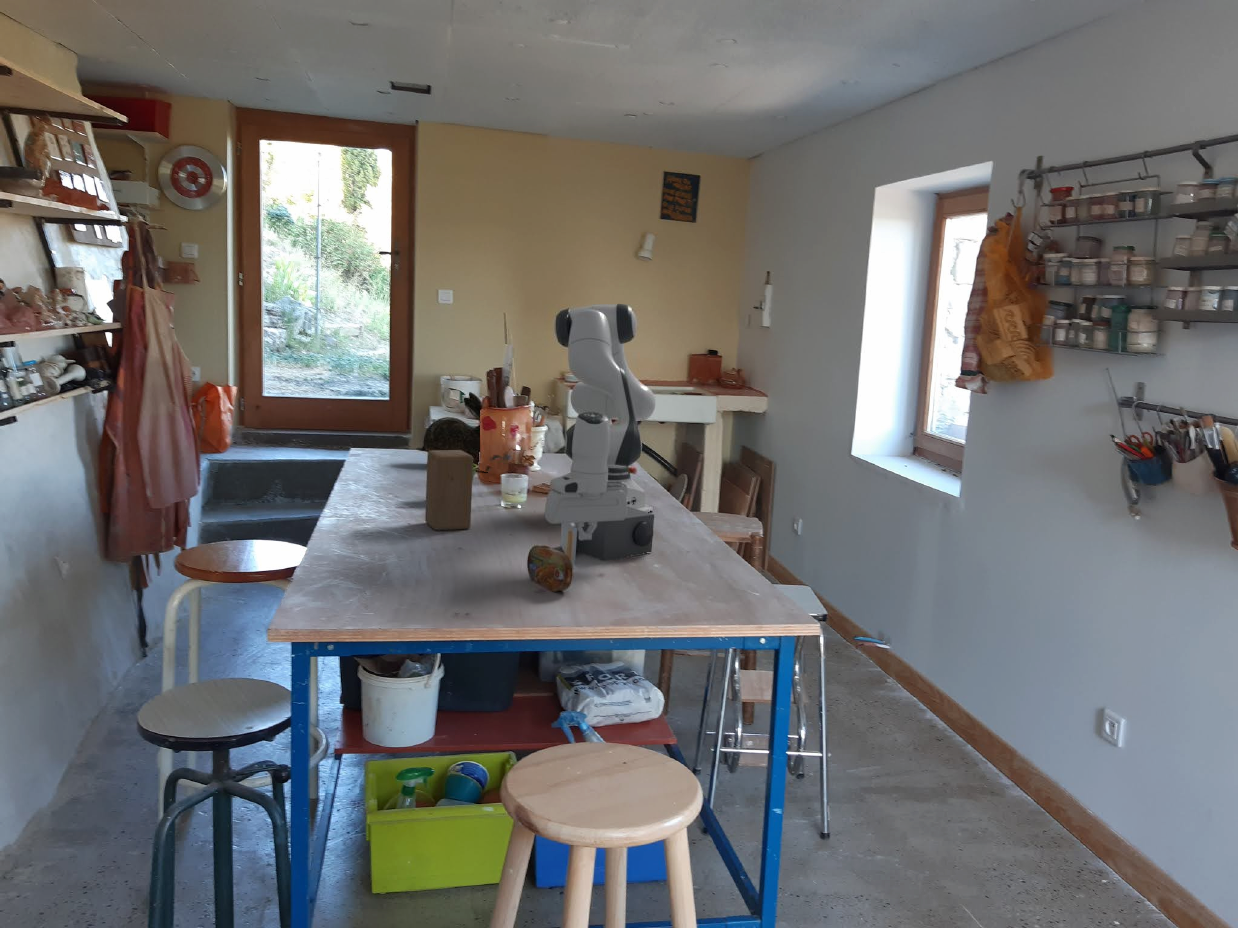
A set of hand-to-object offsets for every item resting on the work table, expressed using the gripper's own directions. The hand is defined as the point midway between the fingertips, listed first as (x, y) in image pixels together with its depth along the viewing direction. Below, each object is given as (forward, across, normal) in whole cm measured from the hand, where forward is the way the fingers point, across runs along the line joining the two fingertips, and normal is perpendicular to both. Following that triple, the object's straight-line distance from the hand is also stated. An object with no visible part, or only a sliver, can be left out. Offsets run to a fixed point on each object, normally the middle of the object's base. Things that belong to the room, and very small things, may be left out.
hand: (585, 539), depth 224 cm
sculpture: (+7, -10, -125) cm, 126 cm away
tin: (+6, +14, +13) cm, 20 cm away
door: (+6, +1, -8) cm, 10 cm away
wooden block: (+6, +20, -43) cm, 48 cm away
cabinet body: (+6, -12, -12) cm, 18 cm away
